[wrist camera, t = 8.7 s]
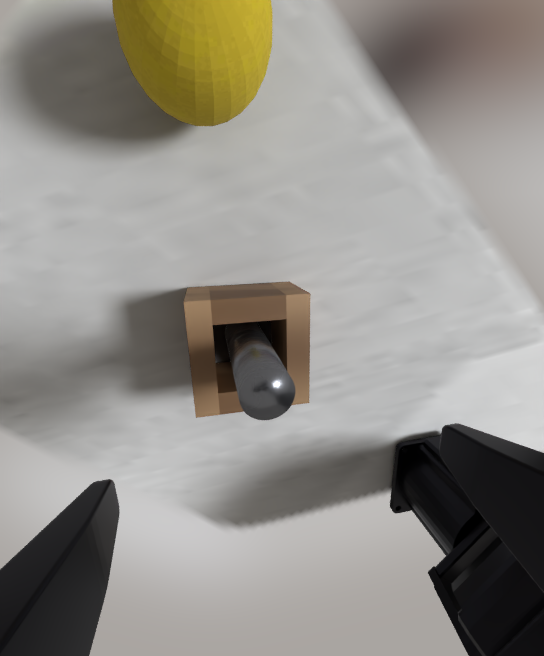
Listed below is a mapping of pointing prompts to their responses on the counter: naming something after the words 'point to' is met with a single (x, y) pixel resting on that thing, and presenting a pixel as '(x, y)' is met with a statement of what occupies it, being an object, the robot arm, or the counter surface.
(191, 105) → the lemon
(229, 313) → the block with square hole
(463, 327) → the counter surface
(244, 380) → the peg
